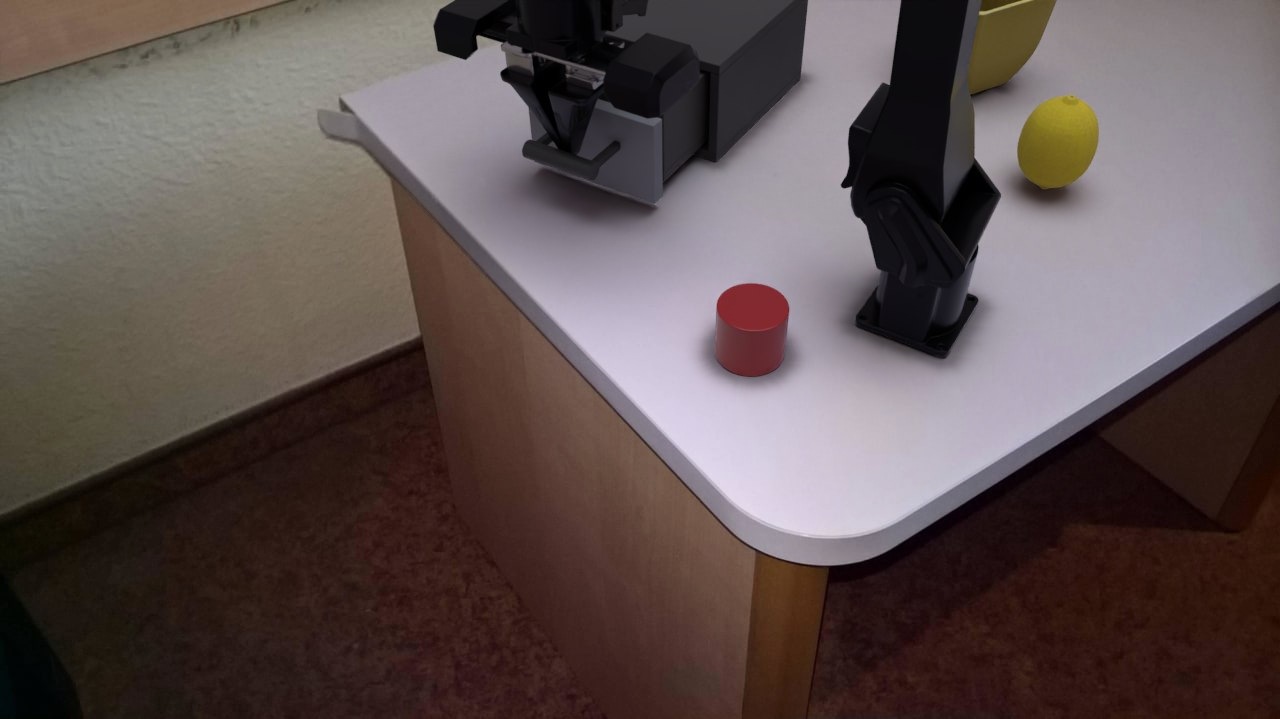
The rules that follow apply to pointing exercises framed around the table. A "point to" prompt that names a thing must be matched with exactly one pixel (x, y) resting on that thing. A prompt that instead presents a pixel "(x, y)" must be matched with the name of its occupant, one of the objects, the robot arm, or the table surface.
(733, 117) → the small drawer cabinet
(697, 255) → the table surface
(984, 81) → the flower pot
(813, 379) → the table surface
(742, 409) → the table surface
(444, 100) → the table surface
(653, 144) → the pod drawer
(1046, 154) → the lemon
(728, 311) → the cylinder
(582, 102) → the robot arm
